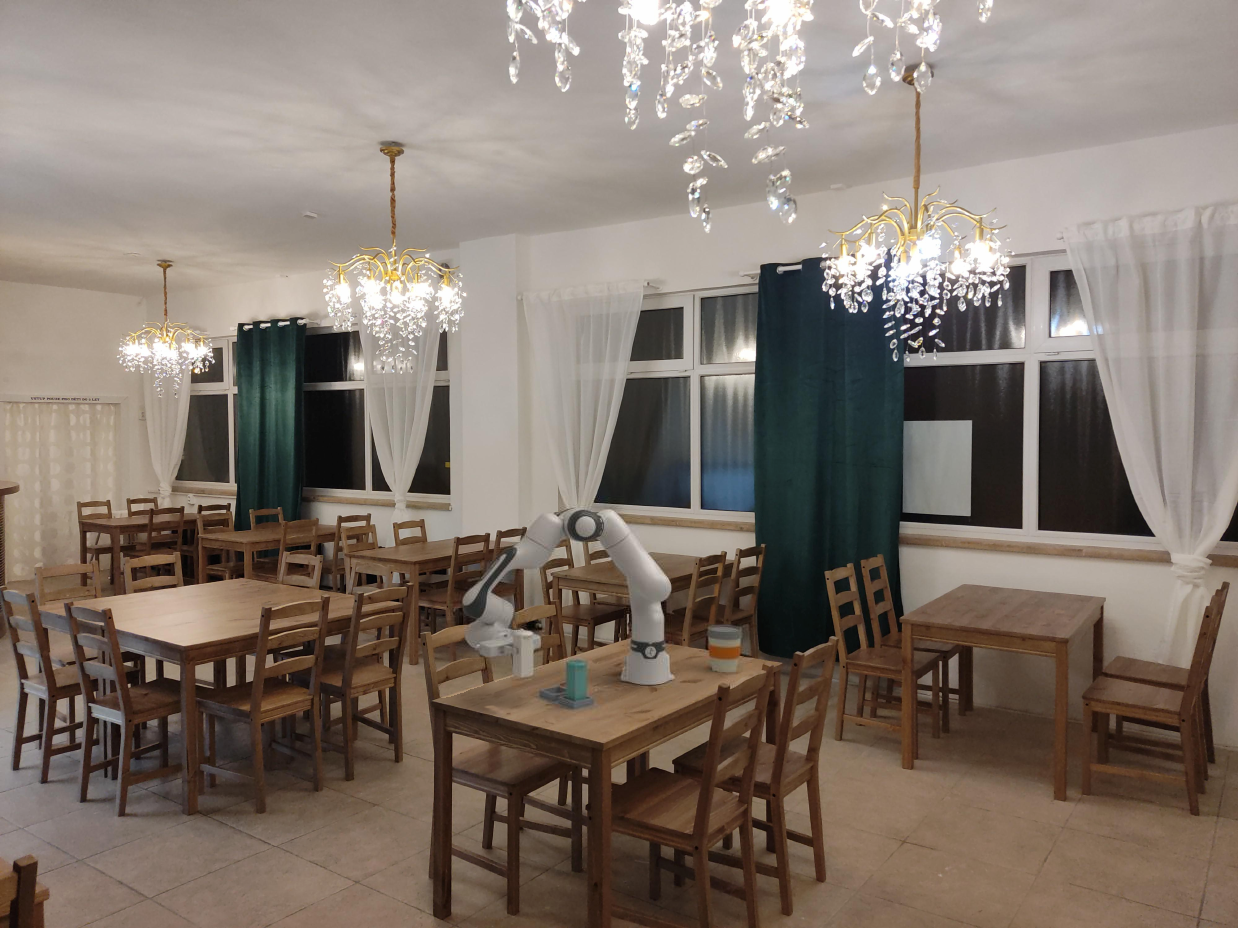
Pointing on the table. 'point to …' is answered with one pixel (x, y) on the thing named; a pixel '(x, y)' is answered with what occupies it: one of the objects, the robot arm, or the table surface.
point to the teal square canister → (576, 680)
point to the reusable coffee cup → (724, 647)
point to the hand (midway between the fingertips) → (524, 649)
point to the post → (523, 653)
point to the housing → (564, 698)
